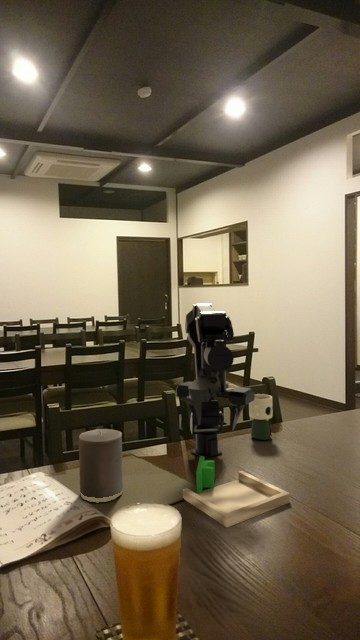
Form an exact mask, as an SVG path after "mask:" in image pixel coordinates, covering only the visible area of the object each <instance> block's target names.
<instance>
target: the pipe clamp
mask: <svg viewBox="0 0 360 640" xmlns="http://www.w3.org/2000/svg"><path fill="white" fill-rule="evenodd" d="M205 459H206V458H204V456H199V458H198V463H197V468H196V472H195V475H196V493H202V491H203V488H208V489H210V488H214V487H215V481H216V472H215V471H216V470H215V468H216V467H215V460H207V459H206V460H205Z"/></svg>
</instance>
